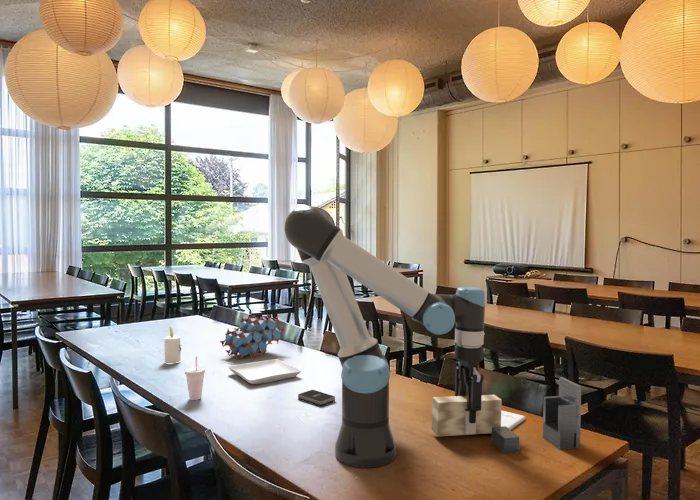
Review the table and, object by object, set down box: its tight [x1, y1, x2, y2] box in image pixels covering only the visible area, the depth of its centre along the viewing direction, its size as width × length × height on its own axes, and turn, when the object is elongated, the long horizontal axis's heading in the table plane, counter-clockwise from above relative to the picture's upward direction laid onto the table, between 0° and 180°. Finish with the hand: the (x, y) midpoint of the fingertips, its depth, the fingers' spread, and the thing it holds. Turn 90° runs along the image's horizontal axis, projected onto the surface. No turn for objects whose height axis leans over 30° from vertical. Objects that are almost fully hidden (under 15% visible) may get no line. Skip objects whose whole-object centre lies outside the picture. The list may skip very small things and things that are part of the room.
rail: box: [431, 394, 503, 437], centre depth 140 cm, size 18×4×9 cm, turn 101°
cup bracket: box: [542, 377, 582, 451], centre depth 135 cm, size 6×8×16 cm
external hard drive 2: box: [501, 409, 526, 431], centre depth 150 cm, size 2×8×12 cm
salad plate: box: [228, 358, 302, 385], centre depth 196 cm, size 21×21×3 cm
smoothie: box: [184, 355, 206, 401], centre depth 170 cm, size 6×6×14 cm
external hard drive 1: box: [297, 389, 336, 408], centre depth 168 cm, size 7×11×2 cm, turn 48°
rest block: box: [491, 426, 520, 455], centre depth 132 cm, size 4×7×4 cm, turn 11°
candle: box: [163, 326, 182, 363], centre depth 215 cm, size 6×6×15 cm
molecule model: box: [219, 314, 286, 360], centre depth 227 cm, size 16×14×25 cm
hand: (466, 429), depth 140 cm, fingers closed on rail, 4 cm apart
